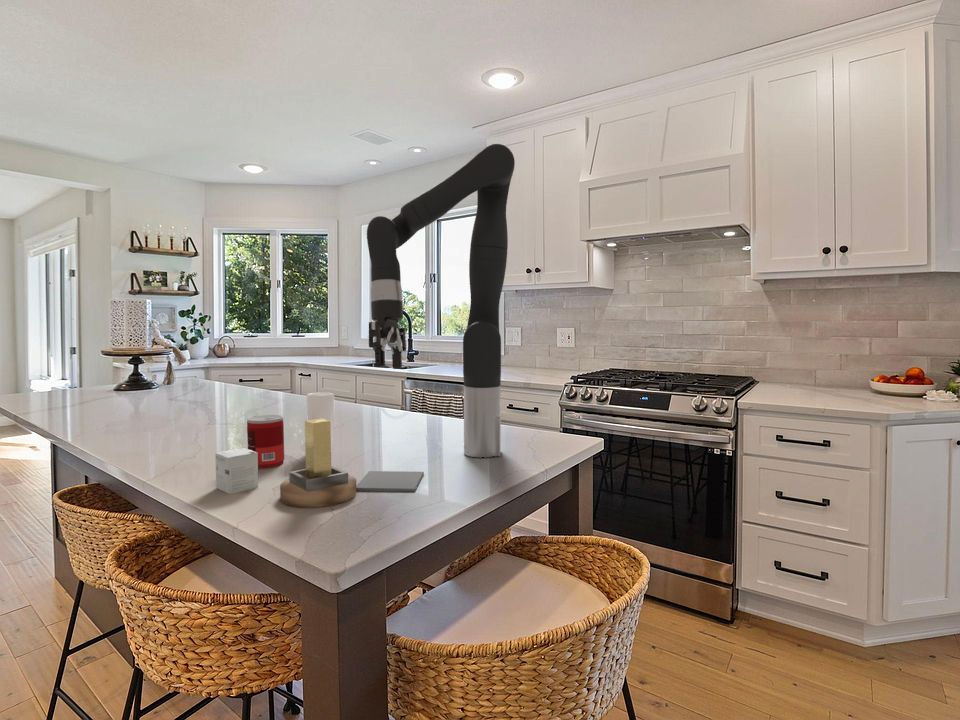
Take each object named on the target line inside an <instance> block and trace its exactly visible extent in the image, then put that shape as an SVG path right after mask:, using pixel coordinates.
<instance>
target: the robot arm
mask: <svg viewBox="0 0 960 720" xmlns="http://www.w3.org/2000/svg"><path fill="white" fill-rule="evenodd" d="M515 161H516V160H515V157H514V154H513V152H512V150H511V149H510V148H509V147H508V146H506V145H504V144H502V143H501V144H500V143H493V144H492V143H491V144H489V145H487V146H486V147H483V149H482V150H480V152H478V153H477V154H476V155H475V156H474V157H472V158H471V159H470V160H469V161H468V162H466V164H464V165H463V166H462V167H460V168H459V169H458V170H456V171H455V172H454V173H453V174H451V175H450V176H448V177H447V178H445V179H444V180H442V181H441V182H439V183H437V184H436V185H434V186H433V187H431V188H430V189H429V188H428V189H427V190H425V191H424V192H422V193H421V194H420V195H419V194H418V196H416V197H414V198H413V199H411V200H409V201H408V202H406V203H405V204H404V205H402V206H401V208H400V212H399V214H398V215H396V216H394V218H393V219H391V218H390V217H387V216H386V215H385V216H384V215H377V216H375V217H373V218H372V219H371V220H370V222H369V223H368V225H367V229H366V241H367V242H366V243H367V248H368V254H369V258H370V275H371V277H370V281H371V283H370V284H371V286H370V309H371V310H370V314H371V320H372V321H369V322H368V347H369V348H370V349H371V348H372V350H373V352H374V365H375V368H385V366H386V352H385V349H386V345H387V346H388V347H389V348H390V350H391V353H392V355H391V357H392V359H391V361H392V362H391V363H392V368H393V370H394V369H395V370H396V369H397V370H398V369H402V368H403V359H402V354H403V353H404V352H406V351H407V343H406V341H407V339H406V329H405V327H404V326H403V327H401V326H400V327H399V324H398V323H399V321H400V322H401V321H402V320H403V319H404V310H403V309H404V305H403V290H402V283H401V266H400V261H399V258H398V257H397V255H398V254H397V249H399V248H400V247H402V246H403V245H404V244H406V243H407V242H408V241H409V240H410V239H411V238H412V237H414V235H416V233H417V232H419V231H420V230H422V229H424V228H426V227H428V226H429V225H430V224H432V223H434V222H436V221H438V220H439V219H440V218H441V217H443V216H444V215H446V214H447V213H448V212H450V211H451V210H452V209H453V208H454V207H456V206H457V205H458V204H459V203H460V202H462V201H463V200H464V199H466V198H467V197H469V196H470V195H472V194H473V193H475V192H477V193H476V194H477V204H476V205H477V206H476V214H475V218H474V222H473V228H472V233H471V237H470V238H471V239H470V247H469V248H470V250H469V264H468V266H469V267H468V268H469V269H468V270H469V271H468V272H469V275H468V277H469V290H470V291H469V292H470V305H469V306H470V307H469V313H468V318H467V319H468V320H467V326H466V330H465V332H464V334H463V338H462V374H463V376H462V377H463V454H464V455H465V456H467V457H473V458H482V457H484V458H493V456H494V457H501V450H502V449H501V447H502V446H501V441H502V439H501V434H502V432H501V431H502V430H501V425H502V424H501V385H502V384H501V380H502V379H501V378H502V338H501V333H500V299H501V295H502V291H503V286H504V283H505V282H504V281H505V277H506V269H507V262H508V261H507V259H508V247H509V246H508V244H509V243H508V242H509V241H508V240H509V239H508V237H509V235H508V224H507V223H508V220H507V204H508V198H509V191H510V185H511V182H512V181H511V180H512V178H513V176H514V175H513V174H514V171H515Z"/></svg>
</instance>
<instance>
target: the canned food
mask: <svg viewBox="0 0 960 720" xmlns="http://www.w3.org/2000/svg"><path fill="white" fill-rule="evenodd" d="M284 427H285V425H284V416H283V415H280V414H265V415H263V414H261V415H256V416H254V415H253V416H250V417H248V418H247V419H246V436H247V449H248V450H252V451H254V452H257V453H258V469H268V468H274V467H279V466H281V465H283V463H284V461H285V433H284V431H285V430H284V429H285V428H284Z"/></svg>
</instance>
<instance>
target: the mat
mask: <svg viewBox="0 0 960 720" xmlns="http://www.w3.org/2000/svg"><path fill="white" fill-rule="evenodd" d="M423 474H424V475H425V472H424V471H403V470H402V471H396V470H395V471H392V470H389V471H388V470H387V471H386V470H383V471H382V470H369V471H368V472H366V474H365V475H364V476H363V478H362V479H361V480H360V481H359V482H358V483H356V492H401V491H415V492H416V490H417V488H418V487H419V484H420V483H421V481H420V480H422V479H423V477H422V476H424V475H423ZM421 478H422V479H421ZM419 482H420V483H419ZM416 487H417V488H416Z"/></svg>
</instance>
